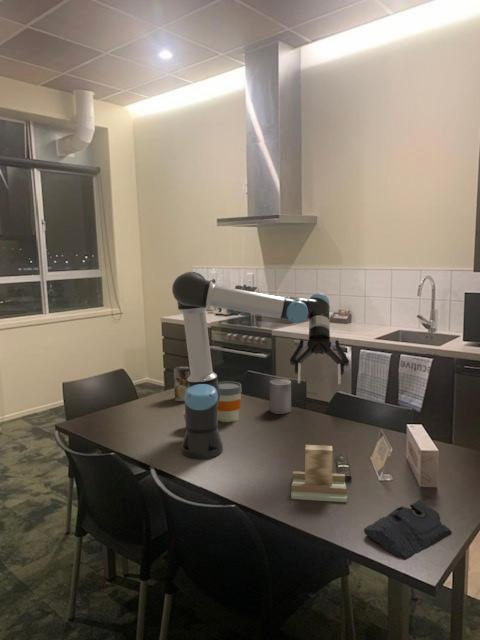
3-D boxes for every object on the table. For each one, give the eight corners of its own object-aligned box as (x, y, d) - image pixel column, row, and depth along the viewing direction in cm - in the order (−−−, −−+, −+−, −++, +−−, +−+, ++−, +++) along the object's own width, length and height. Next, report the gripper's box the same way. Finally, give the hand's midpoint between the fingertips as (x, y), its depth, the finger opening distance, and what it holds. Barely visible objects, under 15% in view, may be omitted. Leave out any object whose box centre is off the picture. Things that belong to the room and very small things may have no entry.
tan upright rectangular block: (305, 487, 147) (305, 449, 146) (305, 481, 151) (305, 444, 149) (332, 488, 146) (332, 450, 145) (331, 483, 150) (332, 445, 148)
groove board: (291, 498, 143) (291, 489, 143) (293, 477, 157) (293, 468, 156) (346, 502, 141) (346, 492, 140) (344, 479, 154) (344, 470, 154)
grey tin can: (270, 406, 227) (270, 375, 225) (291, 407, 226) (291, 376, 224) (269, 414, 218) (268, 381, 215) (291, 414, 216) (290, 381, 214)
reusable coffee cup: (247, 416, 214) (247, 383, 212) (231, 425, 204) (231, 390, 202) (224, 412, 221) (223, 379, 219) (207, 420, 211) (206, 386, 208)
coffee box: (195, 397, 243) (194, 366, 241) (192, 401, 237) (191, 369, 235) (178, 397, 245) (176, 365, 243) (174, 401, 239) (173, 369, 236)
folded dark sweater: (353, 534, 125) (354, 517, 125) (406, 507, 138) (406, 491, 137) (404, 565, 113) (405, 546, 112) (457, 532, 126) (458, 515, 125)
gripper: (353, 337, 180) (355, 388, 167) (285, 336, 183) (283, 386, 171) (354, 325, 174) (357, 377, 161) (284, 324, 178) (281, 375, 165)
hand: (319, 381), depth 166 cm, fingers open, 13 cm apart
